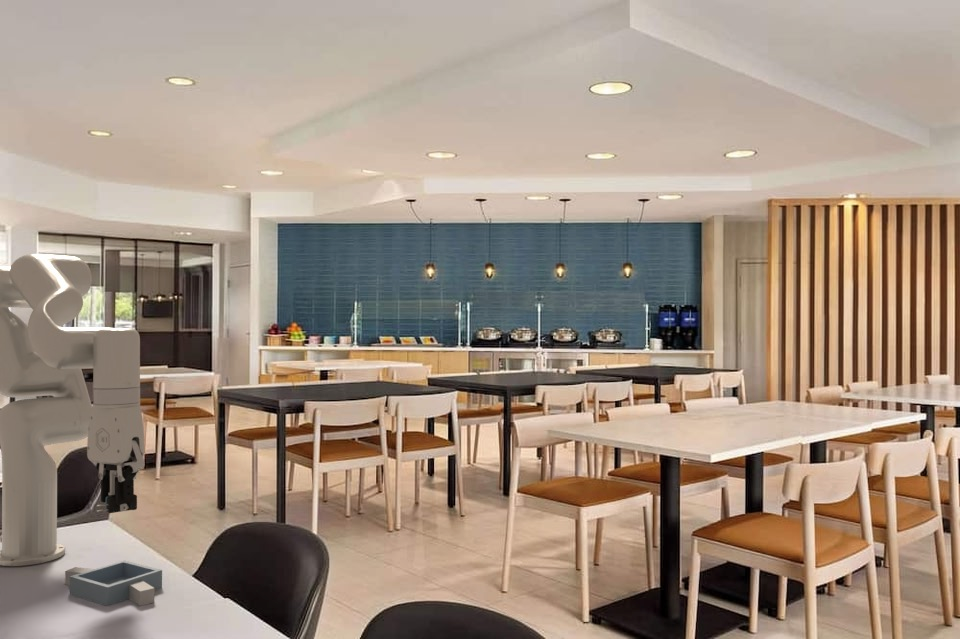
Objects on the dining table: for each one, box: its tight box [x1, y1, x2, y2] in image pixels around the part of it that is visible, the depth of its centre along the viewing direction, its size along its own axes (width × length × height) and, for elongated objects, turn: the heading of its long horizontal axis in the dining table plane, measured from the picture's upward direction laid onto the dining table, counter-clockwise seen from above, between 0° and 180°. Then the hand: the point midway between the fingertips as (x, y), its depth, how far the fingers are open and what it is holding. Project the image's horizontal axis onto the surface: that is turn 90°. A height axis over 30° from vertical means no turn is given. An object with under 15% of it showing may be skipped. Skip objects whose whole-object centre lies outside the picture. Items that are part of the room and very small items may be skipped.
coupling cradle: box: [64, 560, 163, 607], centre depth 138 cm, size 22×11×3 cm, turn 60°
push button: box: [96, 459, 138, 514], centre depth 139 cm, size 7×5×10 cm
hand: (117, 501), depth 138 cm, fingers closed on push button, 3 cm apart
